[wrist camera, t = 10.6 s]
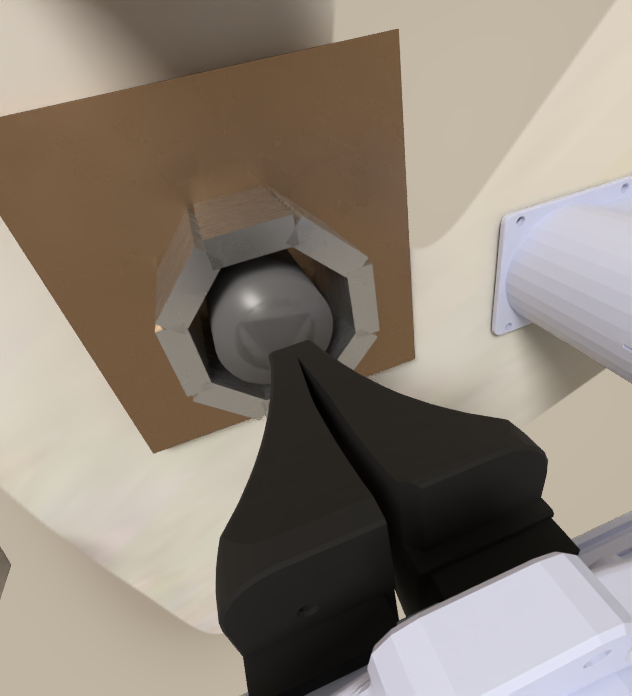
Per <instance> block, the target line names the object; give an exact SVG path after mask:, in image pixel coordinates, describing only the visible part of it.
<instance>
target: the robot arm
mask: <svg viewBox="0 0 632 696" xmlns="http://www.w3.org/2000/svg"><path fill="white" fill-rule="evenodd" d="M519 218H520V219H519ZM518 219H519V221H518V223H517V220H518ZM532 323H535V324H536V325H538V326H540V327H541V328H543V329H544V330H546V331H548V332H549V333H551V334H553V335H554V336H556V337H557V338H559V339H561V340H562V341H564V342H566V343H567V344H569V345H570V346H572V347H574V348H575V349H577V350H578V351H580V352H582V353H583V354H585V355H587V356H588V357H590V358H591V359H593V360H595V361H596V362H598V363H600V364H601V365H603V366H604V367H606V368H608V369H609V370H611V371H612V372H614V373H616V374H617V375H619V376H621V377H622V378H624V379H625V380H627V381H629V382H630V383H632V175H630V176H626V177H623V178H620V179H617V180H614V181H610V182H607V183H604V184H601V185H598V186H595V187H591V188H588V189H585V190H582V191H579V192H575V193H572V194H569V195H566V196H563V197H559V198H556V199H553V200H550V201H547V202H544V203H540V204H537V205H534V206H531V207H528V208H524V209H521V210H518V211H515V212H512V213H509V214H507V215H506V216H505V217H504V218H503V220H502V222H501V228H500V239H499V250H498V262H497V273H496V285H495V296H494V308H493V319H492V332H493V333H494V334H496V335H502V334H505V333H507V332H510V331H513V330H515V329H518V328H521V327H524V326H526V325H529V324H532ZM268 358H269V361H270V366H271V392H270V402H269V409H268V416H267V422H266V426H265V431H264V435H263V439H262V443H261V446H260V449H259V452H258V456H257V459H256V462H255V465H254V468H253V470H252V473H251V475H250V478H249V480H248V482H247V485H246V487H245V489H244V492H243V494H242V496H241V499H240V501H239V503H238V505H237V507H236V509H235V511H234V512H233V514H232V516H231V518H230V520H229V522H228V524H227V526H226V527H225V529H224V531H223V533H222V535H221V537H220V540H219V547H218V555H217V565H216V600H217V610H218V620H219V624H220V627H221V629H222V631H223V633H224V634H225V635H226V636H227V637H228V639H229V640H230V641H231V642H232V644H233V645H234V646H235V647H236V649H237V650H238V651H239V652H240V653H241V655H242V656H243V659H244V666H245V673H246V681H247V687H248V692H247V693H245V694H243V695H241V696H632V511H630V512H628V513H626V514H624V515H622V516H620V517H617V518H615V519H613V520H611V521H609V522H607V523H605V524H603V525H601V526H598V527H596V528H594V529H592V530H590V531H588V532H586V533H584V534H582V535H579V536H577V537H575V538H573V539H570V538H569V537H568V536H567V535H566V533H565V532H564V531H563V530H562V529H561V528H560V527H559V526H558V525H557V524H556V522H555V521H553V519H552V517H553V515H554V513H553V510H552V509H551V508H550V506H549V505H548V504H547V503H546V502H545V501H544V500H543V499H542V498H541V495H542V491H543V487H544V483H545V478H546V474H547V465H548V459H547V457H546V454H545V452H544V451H543V450H542V449H541V448H540V447H539V446H537V445H536V444H535V443H534V442H533V441H532V440H531V439H530V438H529V437H528V436H527V435H526V434H525V433H524V432H522V431H521V430H520V429H519V428H517V427H516V426H515V425H513V424H512V423H511V422H510V421H509V420H506V419H500V418H494V417H488V416H482V415H476V414H470V413H465V412H461V411H456V410H452V409H448V408H444V407H440V406H436V405H433V404H429V403H426V402H423V401H420V400H417V399H414V398H411V397H408V396H405V395H403V394H400V393H398V392H395V391H393V390H391V389H388V388H386V387H384V386H382V385H380V384H378V383H376V382H374V381H372V380H370V379H368V378H366V377H364V376H362V375H361V374H359V373H357V372H356V371H354V370H352V369H351V368H349V367H348V366H346V365H344V364H343V363H341V362H340V361H338V360H337V359H335V358H334V357H332V356H331V355H330V354H328V353H327V352H325V351H324V350H323V349H321V348H320V347H319V346H317V345H316V344H315V343H314V342H312V341H311V340H306V341H303V342H300V343H297V344H294V345H291V346H288V347H285V348H282V349H279V350H276V351H273V352H271V353H270V354H269V356H268ZM394 590H395V591H396V594H397V596H398V598H399V601H400V603H401V606H402V608H403V610H404V613H405V615H406V618H404V619H401V620H399V618H398V611H397V605H396V598H395V591H394Z"/></svg>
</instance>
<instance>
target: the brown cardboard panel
mask: <svg viewBox="0 0 632 696" xmlns="http://www.w3.org/2000/svg"><path fill="white" fill-rule="evenodd" d="M399 47H400V46H399V29H395V30H390V31H386V32H381V33H377V34H372V35H368V36H363V37H359V38H354V39H350V40H346V41H341V42H336V43H332V44H327V45H323V46H318V47H314V48H309V49H305V50H300V51H296V52H291V53H287V54H282V55H278V56H273V57H269V58H264V59H260V60H255V61H251V62H246V63H242V64H237V65H233V66H228V67H224V68H219V69H215V70H210V71H206V72H201V73H197V74H192V75H188V76H183V77H178V78H174V79H169V80H165V81H160V82H156V83H151V84H147V85H142V86H138V87H133V88H129V89H124V90H120V91H115V92H111V93H106V94H102V95H97V96H93V97H88V98H84V99H79V100H75V101H70V102H66V103H61V104H57V105H52V106H48V107H43V108H39V109H34V110H30V111H25V112H21V113H16V114H12V115H7V116H3V117H0V216H1V218H2V219H3V221H4V222H5V224H6V225H7V227H8V228H9V230H10V232H11V233H12V235H13V236H14V238H15V239H16V241H17V242H18V244H19V246H20V247H21V249H22V250H23V252H24V253H25V255H26V256H27V258H28V260H29V261H30V263H31V264H32V266H33V267H34V269H35V270H36V272H37V273H38V275H39V277H40V278H41V280H42V281H43V283H44V284H45V286H46V287H47V289H48V291H49V292H50V294H51V295H52V297H53V298H54V300H55V301H56V303H57V305H58V306H59V308H60V309H61V311H62V312H63V314H64V315H65V317H66V318H67V320H68V322H69V323H70V325H71V326H72V328H73V329H74V331H75V332H76V334H77V336H78V337H79V339H80V340H81V342H82V343H83V345H84V346H85V348H86V350H87V351H88V353H89V354H90V356H91V357H92V359H93V360H94V362H95V363H96V365H97V367H98V368H99V370H100V371H101V373H102V374H103V376H104V377H105V379H106V381H107V382H108V384H109V385H110V387H111V388H112V390H113V391H114V393H115V395H116V396H117V398H118V399H119V401H120V402H121V404H122V405H123V407H124V409H125V410H126V412H127V413H128V415H129V416H130V418H131V419H132V421H133V422H134V424H135V426H136V427H137V429H138V430H139V432H140V433H141V435H142V436H143V438H144V440H145V441H146V443H147V444H148V446H149V447H150V449H151V450H152V452H153V454H154V453H157V452H159V451H162V450H165V449H168V448H170V447H173V446H176V445H179V444H181V443H184V442H187V441H190V440H192V439H195V438H198V437H201V436H203V435H206V434H209V433H212V432H214V431H217V430H220V429H223V428H225V427H228V426H231V425H234V424H237V423H239V422H242V421H245V420H248V419H250V418H254V419H257V420H261V418H262V417H263V415H264V414H265V415H266V418H267V416H268V409H269V402H270V392H271V384H256V383H251V382H247V381H244V380H242V379H240V378H238V377H236V376H235V375H233V374H231V373H230V372H229V371H228V370H227V369H226V368H225V367H224V366H223V364H222V363H221V361H220V360H219V358H218V356H217V353H216V350H215V345H214V340H213V336H212V331H211V326H210V321H209V316H208V311H207V306H206V301H205V296H206V295H207V293H208V291H209V289H210V287H211V285H212V284H213V282H214V280H215V278H216V276H217V274H218V272H219V271H220V269H221V268H223V267H227V266H230V265H233V264H237V263H240V262H243V261H247V260H250V259H253V258H257V257H260V256H263V255H267V254H270V253H273V252H277V251H280V250H283V249H287V250H288V251H289V253H290V254H291V255H292V257H293V258H294V259H295V261H296V262H297V263H298V265H299V266H300V267H301V269H302V270H303V271H304V273H305V274H306V275H307V277H308V278H309V279H310V281H311V282H312V283H313V285H314V286H315V287H316V288H317V290H318V291H319V292H320V294H321V295H322V296H323V298H324V299H325V301H326V302H327V304H328V306H329V308H330V311H331V313H332V319H333V331H332V336H331V340H330V343H329V345H328V347H327V349H326V351H325V352H327V353H328V354H330V355H331V356H332V357H334V358H335V359H337V360H338V361H340V362H341V363H343V364H344V365H346V366H348V367H349V368H351V369H352V370H354V371H356V372H357V373H359V374H361V375H362V376H364V377H366V376H369V375H372V374H374V373H377V372H380V371H383V370H385V369H388V368H391V367H394V366H396V365H399V364H402V363H405V362H408V361H410V360H413V359H415V350H414V330H413V310H412V289H411V269H410V249H409V229H408V208H407V188H406V169H405V147H404V128H403V108H402V87H401V66H400V48H399Z"/></svg>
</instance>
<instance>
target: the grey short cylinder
mask: <svg viewBox="0 0 632 696" xmlns="http://www.w3.org/2000/svg"><path fill="white" fill-rule="evenodd" d="M205 301H206V306H207V311H208V316H209V321H210V326H211V331H212V336H213V340H214V345H215V350H216V353H217V356H218V358H219V360H220V361H221V363H222V364H223V366H224V367H225V368H226V369H227V370H228V371H229V372H230V373H231V374H233V375H235V376H236V377H238V378H240V379H242V380H244V381H247V382H251V383H256V384H271V366H270V361H269V358H268V356H269V354H270V353H271V352H273V351H276V350H279V349H282V348H285V347H288V346H291V345H294V344H297V343H300V342H303V341H306V340H311V341H312V342H314V343H315V344H316V345H317V346H319V347H320V348H321V349H323V350H324V351H326V349H327V347H328V345H329V343H330V340H331V336H332V331H333V319H332V313H331V311H330V308H329V306H328V304H327V302H326V301H325V299H324V298H323V296H322V295H321V294H320V292H319V291H318V290H317V288H316V287H315V286H314V285H313V283H312V282H311V281H310V279H309V278H308V277H307V275H306V274H305V273H304V271H303V270H302V269H301V267H300V266H299V265H298V263H297V262H296V261H295V259H294V258H293V257H292V255H291V254H290V253H289V251H288V250H287V249H283V250H280V251H277V252H273V253H270V254H267V255H263V256H260V257H257V258H253V259H250V260H247V261H243V262H240V263H237V264H233V265H230V266H227V267H223V268H221V269H220V271H219V272H218V274H217V276H216V278H215V280H214V282H213V284H212V285H211V287H210V289H209V291H208V293H207V295H206V296H205Z"/></svg>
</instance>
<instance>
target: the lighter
mask: <svg viewBox="0 0 632 696" xmlns="http://www.w3.org/2000/svg"><path fill="white" fill-rule="evenodd" d="M10 567H11V564H10V562H9V560H8V559H7V557H6V555H5V554H4V552H3V550H2V549H1V547H0V598H1V595H2V591H3V589H4V585H5V582H6V579H7V576H8V573H9V570H10Z"/></svg>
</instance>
